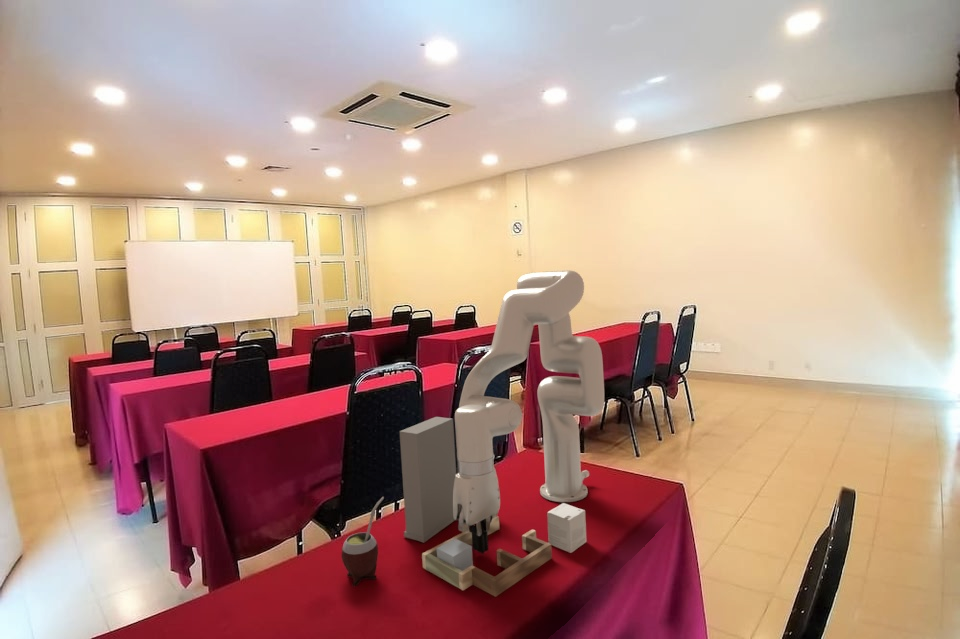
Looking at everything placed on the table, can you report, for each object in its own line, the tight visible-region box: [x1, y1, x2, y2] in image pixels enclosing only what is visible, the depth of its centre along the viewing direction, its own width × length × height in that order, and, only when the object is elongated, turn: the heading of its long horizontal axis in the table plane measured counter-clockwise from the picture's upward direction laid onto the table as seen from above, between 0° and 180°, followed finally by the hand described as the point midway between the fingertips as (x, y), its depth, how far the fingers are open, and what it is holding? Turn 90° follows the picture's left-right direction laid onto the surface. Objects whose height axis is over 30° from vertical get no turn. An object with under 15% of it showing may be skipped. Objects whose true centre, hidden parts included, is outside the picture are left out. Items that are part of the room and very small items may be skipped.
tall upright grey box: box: [399, 416, 457, 544], centre depth 120 cm, size 14×6×25 cm, turn 147°
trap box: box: [421, 514, 553, 597], centre depth 105 cm, size 22×18×3 cm
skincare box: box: [546, 502, 587, 554], centre depth 110 cm, size 6×6×7 cm
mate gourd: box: [341, 496, 385, 587], centre depth 102 cm, size 8×8×15 cm
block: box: [437, 539, 474, 571], centre depth 102 cm, size 5×5×5 cm
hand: (480, 549), depth 107 cm, fingers closed
